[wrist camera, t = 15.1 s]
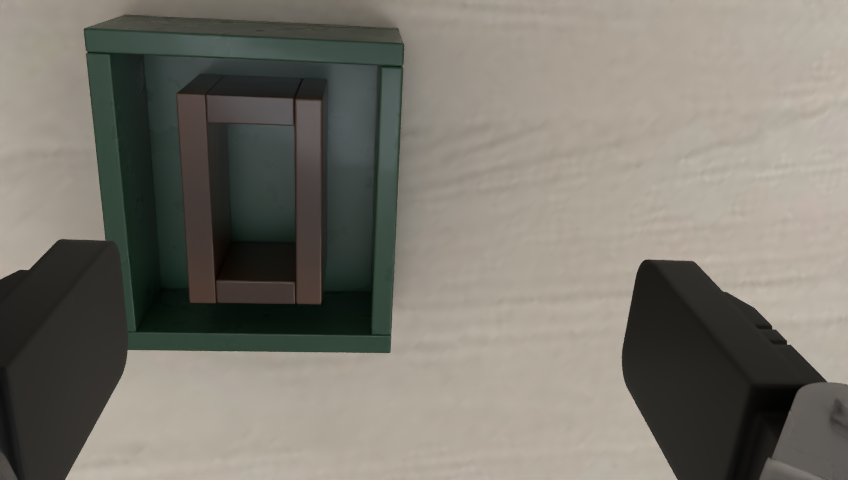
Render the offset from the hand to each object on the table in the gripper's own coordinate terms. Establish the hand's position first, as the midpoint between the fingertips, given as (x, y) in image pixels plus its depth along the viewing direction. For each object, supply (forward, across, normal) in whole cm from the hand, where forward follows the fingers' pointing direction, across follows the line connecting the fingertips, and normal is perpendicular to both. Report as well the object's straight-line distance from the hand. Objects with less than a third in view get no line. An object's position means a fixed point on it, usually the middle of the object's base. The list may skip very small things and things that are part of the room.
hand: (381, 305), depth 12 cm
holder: (+20, +4, +4) cm, 21 cm away
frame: (+20, +4, +4) cm, 21 cm away
